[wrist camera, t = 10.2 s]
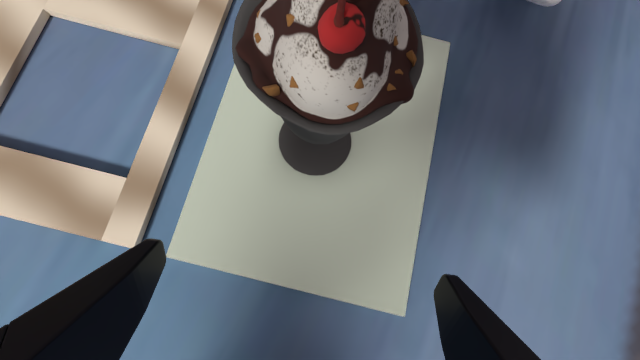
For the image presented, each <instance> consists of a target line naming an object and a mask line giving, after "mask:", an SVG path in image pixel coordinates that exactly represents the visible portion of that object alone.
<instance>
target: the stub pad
mask: <svg viewBox="0 0 640 360" xmlns="http://www.w3.org/2000/svg"><path fill="white" fill-rule="evenodd" d="M421 37H422V43H423V51H424V65H423V69H422V73H421V76H420V79H419V81H418V83H417V85H416V88H415V89H414V95H413V97H412V99H411V100H410V101H409V102H407V103H404V104H401V105H400V106H399V107H398V108H397V109H396V110H394V111H393V112H392V113H391V114H390V115H388V116H386V117H385V118H383V119H381V120H379V121H378V122H376V123H374V124H372V125H370V126H368V127H366V128H363V129H361V130H359V131H356V132H352V133H350V134H351V149H350V152H349V155H348V157H347V159H346V161H345V162H344V163H343V164H342V165H341V166H340V167H339V168H338V169H337V170H335V171H333V172H331V173H328V174H325V175H318V176H314V175H307V174H303V173H301V172H299V171H296V170H295V169H294V168H292V167H291V166H290V165H289V164H288V163H287V162H286V161H285V160H284V158H283V156H282V154H281V151H280V148H279V133H280V130H281V127H282V125H283V123H284V121H283V119H282V118H281V116H279V115H277V114H276V113H274V112H273V111H272V110H271V109H270V108H268V107H267V106H266V105H265V104H264V103H262V102H261V101H260V100H259V99H258V98H257V97H256V96H255V95H254V94H253V93H252V92H251V91H250V90H249V89H248V88H247V86H246V84H245V83H244V81H243V79H242V78H241V76H240V74H239V72H238V70H237V68H236V65H235V64H234V67H233V69H232V72H231V75H230V78H229V81H228V83H227V86H226V89H225V92H224V95H223V97H222V100H221V103H220V106H219V109H218V111H217V114H216V117H215V120H214V123H213V126H212V128H211V131H210V134H209V137H208V140H207V142H206V145H205V148H204V151H203V154H202V156H201V159H200V162H199V165H198V168H197V170H196V173H195V176H194V179H193V182H192V184H191V187H190V190H189V193H188V196H187V198H186V201H185V204H184V207H183V210H182V212H181V215H180V218H179V221H178V224H177V226H176V229H175V232H174V235H173V238H172V241H171V243H170V246H169V249H168V252H167V255H166V257H168V258H172V259H176V260H180V261H184V262H188V263H192V264H196V265H200V266H204V267H208V268H212V269H216V270H220V271H224V272H228V273H232V274H236V275H240V276H244V277H248V278H252V279H256V280H260V281H264V282H268V283H272V284H276V285H280V286H284V287H288V288H292V289H295V290H299V291H303V292H307V293H311V294H315V295H319V296H323V297H327V298H331V299H335V300H339V301H343V302H347V303H351V304H355V305H359V306H363V307H367V308H371V309H375V310H379V311H383V312H387V313H391V314H395V315H399V316H403V317H405V312H406V306H407V300H408V294H409V288H410V282H411V276H412V270H413V264H414V258H415V252H416V246H417V240H418V234H419V228H420V222H421V216H422V210H423V204H424V198H425V192H426V186H427V180H428V174H429V168H430V162H431V156H432V150H433V144H434V138H435V132H436V126H437V120H438V114H439V108H440V102H441V96H442V90H443V84H444V78H445V72H446V66H447V60H448V54H449V48H450V42H446V41H443V40H439V39H435V38H431V37H428V36H424V35H421Z"/></svg>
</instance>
